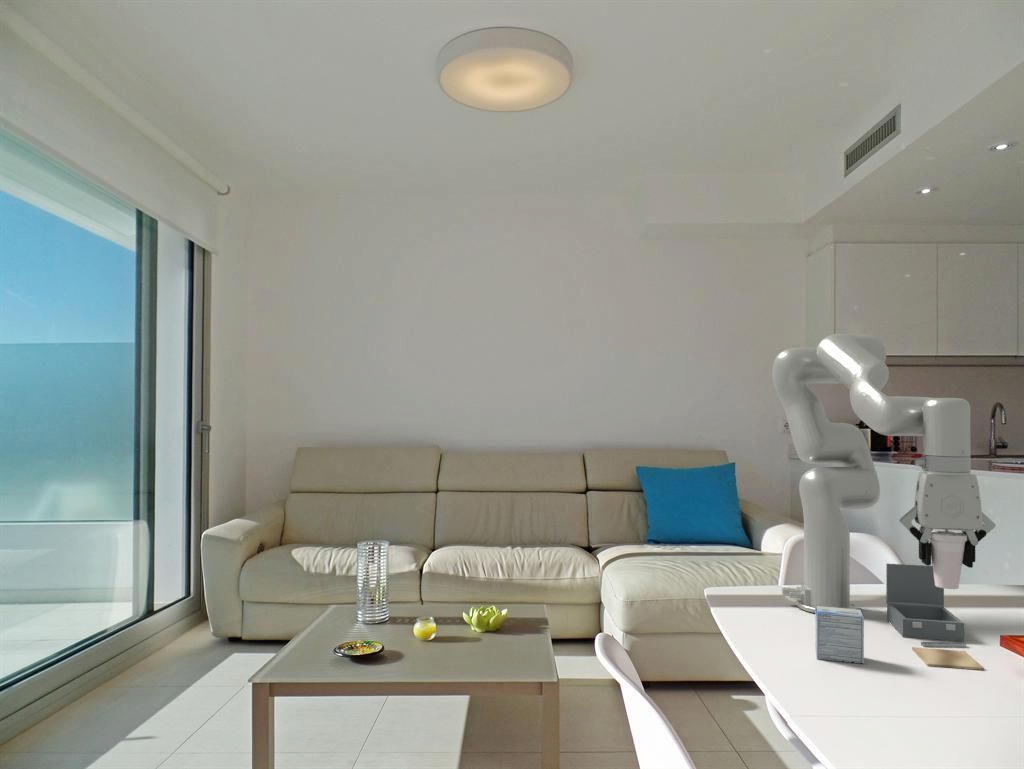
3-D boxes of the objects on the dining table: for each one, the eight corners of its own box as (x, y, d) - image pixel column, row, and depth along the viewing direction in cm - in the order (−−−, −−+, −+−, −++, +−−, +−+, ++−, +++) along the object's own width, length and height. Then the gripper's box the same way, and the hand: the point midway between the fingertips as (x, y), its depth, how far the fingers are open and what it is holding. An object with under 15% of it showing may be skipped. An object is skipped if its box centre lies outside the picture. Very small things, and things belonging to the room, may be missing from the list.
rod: (923, 648, 144) (923, 643, 144) (920, 647, 145) (920, 641, 145) (966, 649, 144) (966, 644, 144) (962, 647, 145) (963, 642, 145)
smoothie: (965, 584, 139) (965, 508, 139) (969, 592, 133) (969, 512, 133) (925, 580, 141) (925, 505, 142) (928, 588, 135) (928, 510, 136)
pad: (927, 665, 133) (927, 663, 133) (911, 649, 142) (911, 647, 142) (983, 670, 131) (983, 667, 131) (964, 653, 140) (964, 651, 140)
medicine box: (861, 657, 138) (861, 609, 138) (864, 665, 134) (864, 615, 134) (814, 651, 140) (815, 605, 141) (816, 659, 136) (816, 611, 136)
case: (903, 637, 149) (903, 577, 149) (886, 619, 162) (886, 563, 162) (965, 641, 147) (965, 580, 147) (942, 623, 159) (942, 566, 159)
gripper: (900, 466, 136) (900, 566, 135) (1008, 468, 132) (1008, 572, 132) (889, 462, 143) (889, 558, 143) (991, 465, 139) (991, 563, 139)
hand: (946, 564), depth 137 cm, fingers closed on smoothie, 6 cm apart
